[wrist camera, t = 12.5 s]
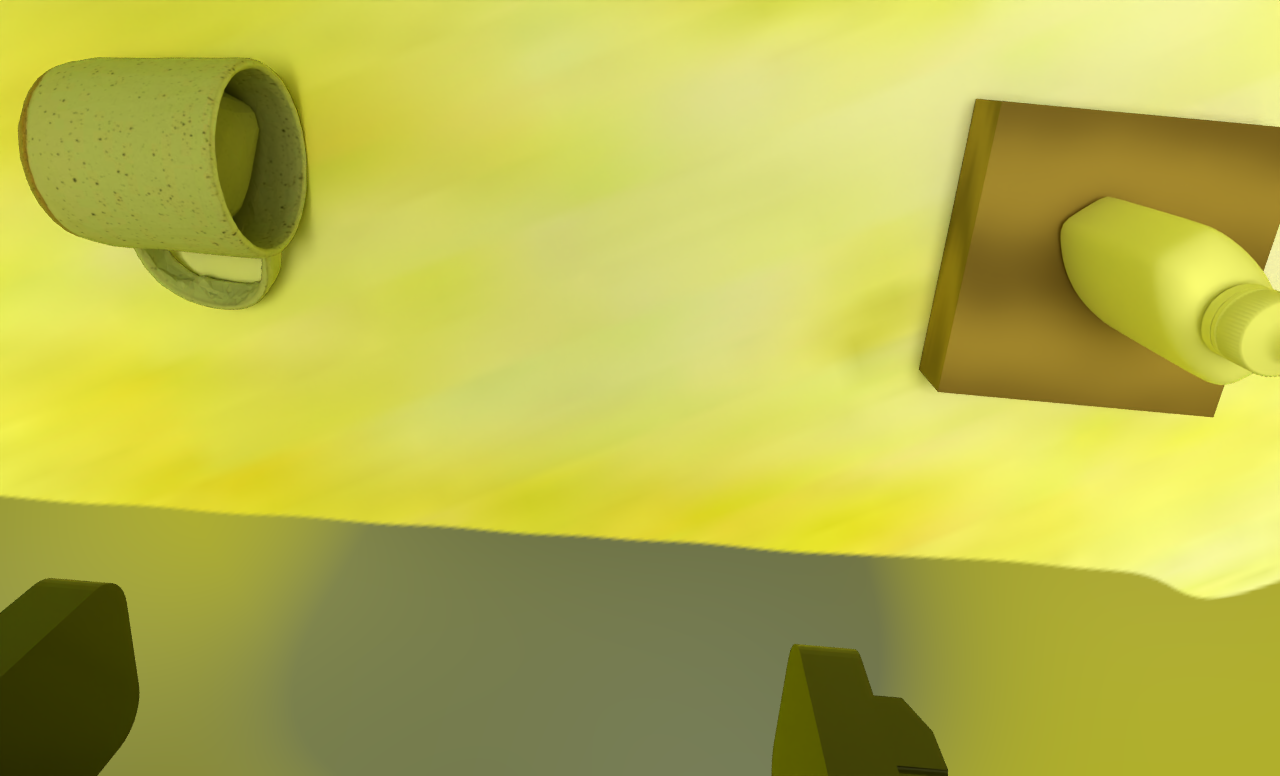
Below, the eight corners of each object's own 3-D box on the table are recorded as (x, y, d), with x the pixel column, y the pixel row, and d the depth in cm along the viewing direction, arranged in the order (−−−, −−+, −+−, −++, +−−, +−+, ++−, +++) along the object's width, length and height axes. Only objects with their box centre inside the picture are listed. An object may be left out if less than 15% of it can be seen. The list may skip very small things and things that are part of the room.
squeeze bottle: (1172, 187, 34) (1418, 246, 23) (1157, 324, 36) (1377, 439, 25) (1059, 198, 35) (1247, 261, 23) (1050, 333, 37) (1221, 451, 25)
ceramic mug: (105, 56, 37) (-32, 58, 30) (296, 57, 36) (205, 59, 29) (155, 299, 41) (44, 352, 33) (328, 301, 40) (254, 355, 33)
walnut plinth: (975, 99, 36) (1002, 101, 33) (1261, 125, 36) (1311, 130, 33) (918, 369, 40) (937, 391, 38) (1175, 392, 40) (1213, 417, 38)
